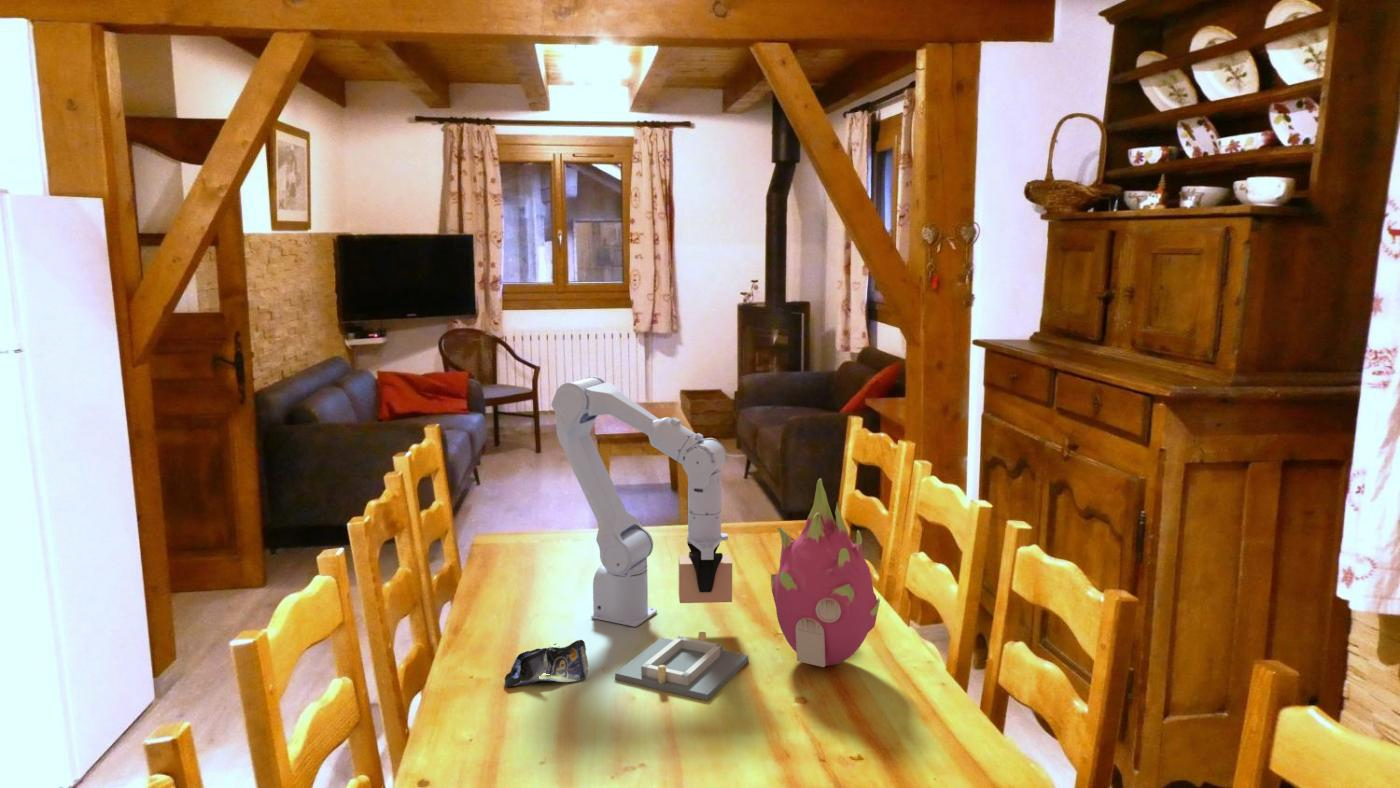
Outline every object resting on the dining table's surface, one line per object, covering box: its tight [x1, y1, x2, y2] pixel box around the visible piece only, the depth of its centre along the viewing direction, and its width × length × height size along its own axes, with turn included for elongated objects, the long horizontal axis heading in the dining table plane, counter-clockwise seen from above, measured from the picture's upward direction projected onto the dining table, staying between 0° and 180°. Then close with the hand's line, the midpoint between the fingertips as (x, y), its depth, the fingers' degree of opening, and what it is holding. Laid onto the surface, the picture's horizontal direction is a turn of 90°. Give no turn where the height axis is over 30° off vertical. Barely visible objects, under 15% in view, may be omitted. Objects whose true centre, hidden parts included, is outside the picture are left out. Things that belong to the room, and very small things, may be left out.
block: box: [678, 554, 733, 604], centre depth 167 cm, size 9×4×7 cm, turn 94°
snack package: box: [504, 639, 589, 688], centre depth 150 cm, size 12×7×12 cm
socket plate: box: [614, 631, 749, 702], centre depth 152 cm, size 16×15×4 cm
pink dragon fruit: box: [770, 477, 881, 668], centre depth 152 cm, size 18×14×30 cm
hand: (704, 586), depth 167 cm, fingers closed on block, 4 cm apart
